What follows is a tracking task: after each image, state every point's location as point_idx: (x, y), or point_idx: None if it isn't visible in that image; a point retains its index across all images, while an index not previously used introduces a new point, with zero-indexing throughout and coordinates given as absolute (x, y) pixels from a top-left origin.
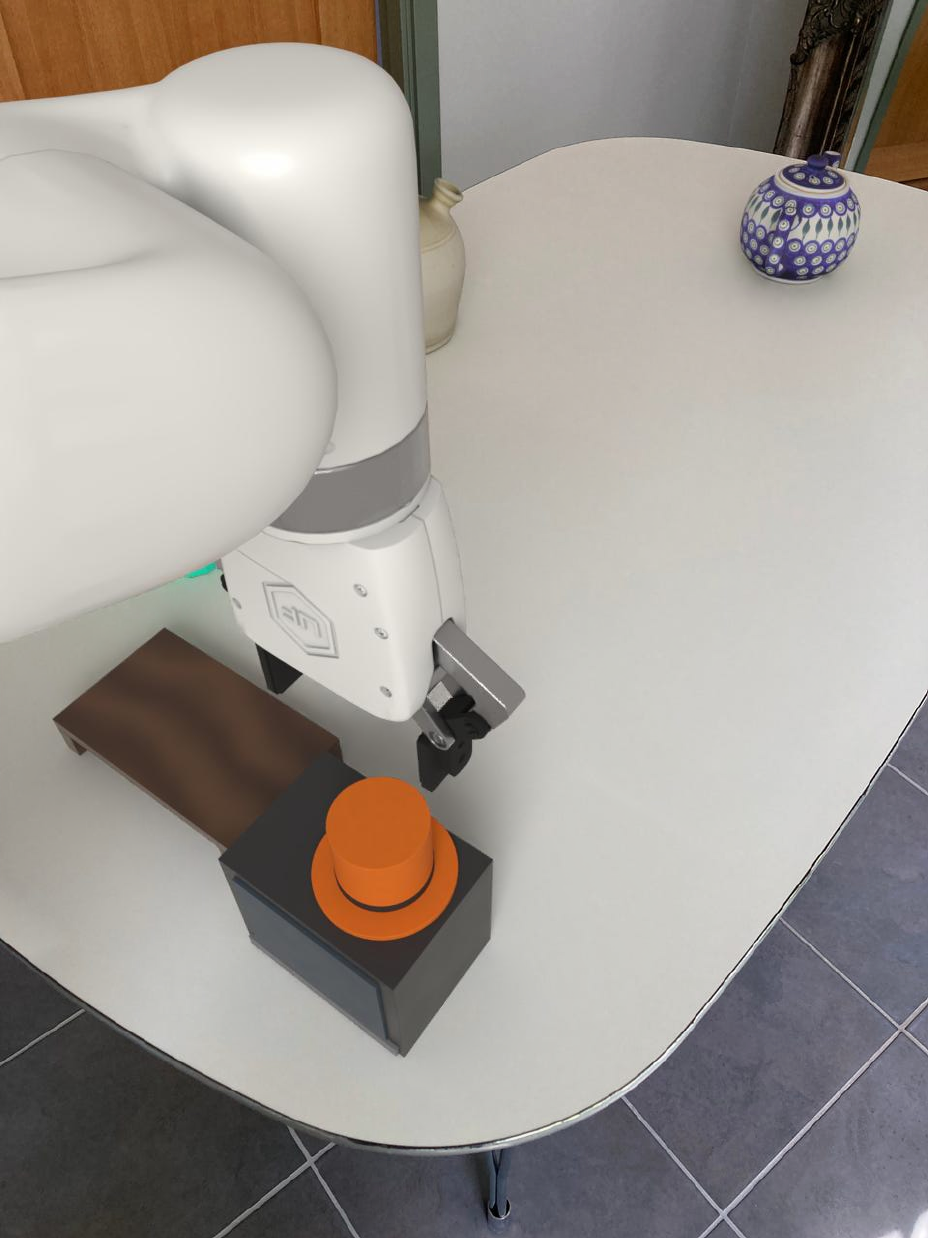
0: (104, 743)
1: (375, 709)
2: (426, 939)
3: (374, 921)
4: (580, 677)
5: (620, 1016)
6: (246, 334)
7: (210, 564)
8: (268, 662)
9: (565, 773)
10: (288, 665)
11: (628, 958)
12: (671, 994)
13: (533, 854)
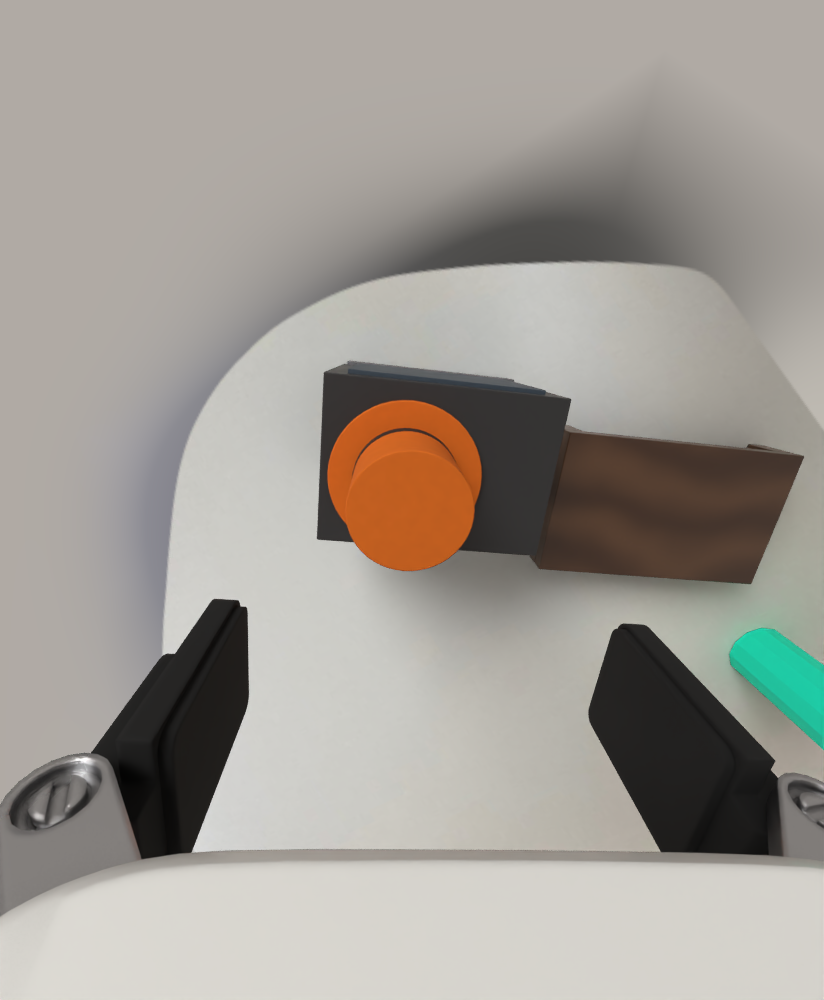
0: (741, 460)
1: (102, 948)
2: (326, 435)
3: (380, 423)
4: (392, 701)
5: (217, 479)
6: None
7: (738, 651)
8: (692, 703)
9: (359, 627)
10: (637, 700)
11: (236, 521)
12: (194, 513)
13: (345, 558)
